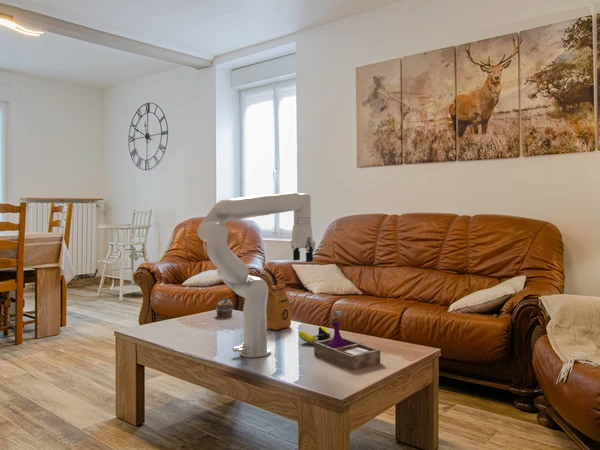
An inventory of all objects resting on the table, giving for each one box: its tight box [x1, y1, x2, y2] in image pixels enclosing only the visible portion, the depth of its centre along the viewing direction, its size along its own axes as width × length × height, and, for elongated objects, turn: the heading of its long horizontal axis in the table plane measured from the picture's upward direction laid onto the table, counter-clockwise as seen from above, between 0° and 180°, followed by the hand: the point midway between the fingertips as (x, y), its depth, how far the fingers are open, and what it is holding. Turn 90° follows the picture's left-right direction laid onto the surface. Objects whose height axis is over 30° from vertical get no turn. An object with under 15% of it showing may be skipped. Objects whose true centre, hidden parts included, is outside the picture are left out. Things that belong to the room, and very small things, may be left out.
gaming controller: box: [298, 326, 333, 346], centre depth 212 cm, size 15×6×10 cm
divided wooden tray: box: [313, 336, 381, 371], centre depth 187 cm, size 14×24×5 cm, turn 33°
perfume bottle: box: [326, 310, 348, 348], centre depth 191 cm, size 8×8×18 cm
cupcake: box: [215, 297, 234, 318], centre depth 269 cm, size 10×10×10 cm
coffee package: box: [266, 283, 292, 331], centre depth 238 cm, size 10×12×22 cm
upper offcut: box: [343, 348, 369, 355], centre depth 182 cm, size 8×6×2 cm
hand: (302, 260), depth 207 cm, fingers open, 9 cm apart
